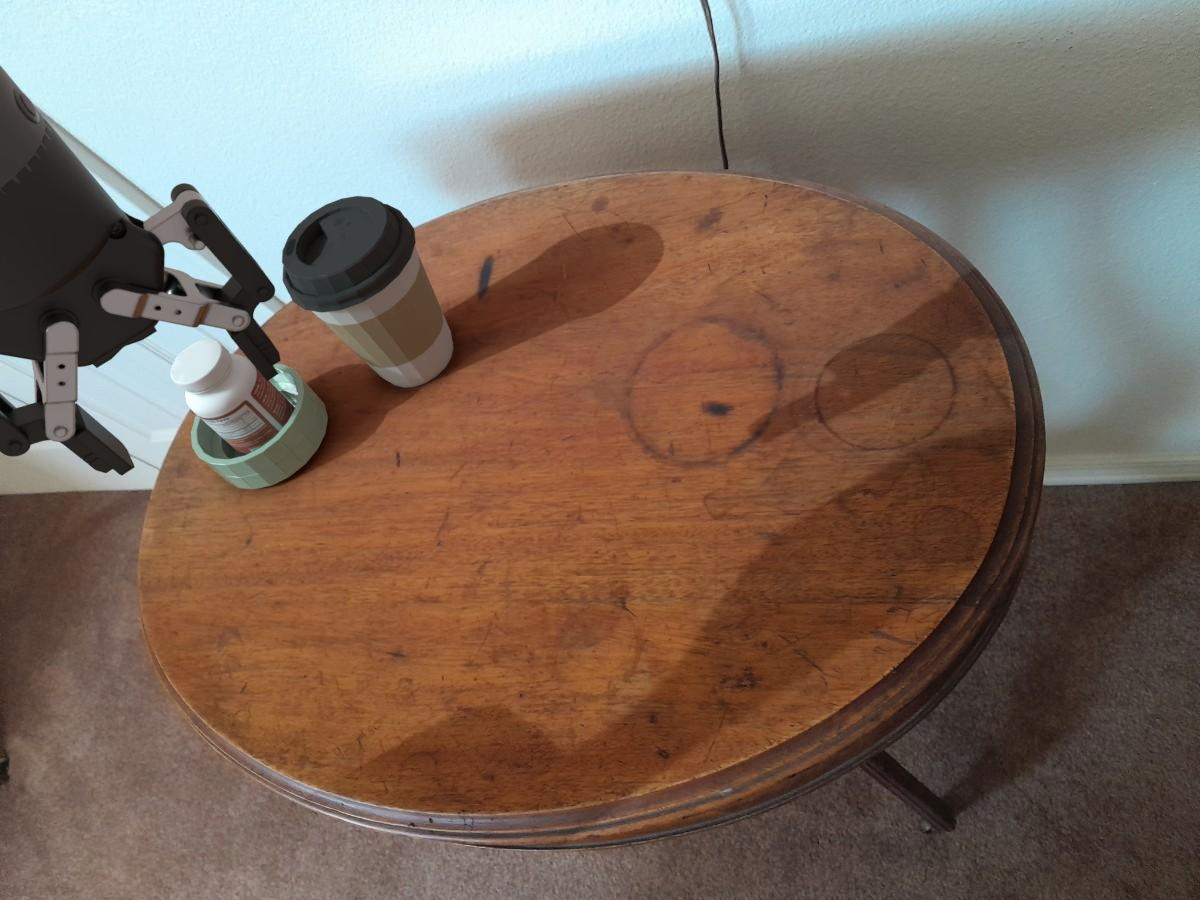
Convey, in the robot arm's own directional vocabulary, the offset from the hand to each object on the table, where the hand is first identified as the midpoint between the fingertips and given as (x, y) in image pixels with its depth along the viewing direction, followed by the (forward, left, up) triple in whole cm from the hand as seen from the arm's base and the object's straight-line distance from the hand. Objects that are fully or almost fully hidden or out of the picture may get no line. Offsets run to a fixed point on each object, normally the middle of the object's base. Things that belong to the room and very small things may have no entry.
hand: (197, 415), depth 45 cm
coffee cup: (+23, +8, -24) cm, 35 cm away
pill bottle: (+13, +19, -24) cm, 33 cm away
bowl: (+13, +19, -24) cm, 34 cm away
